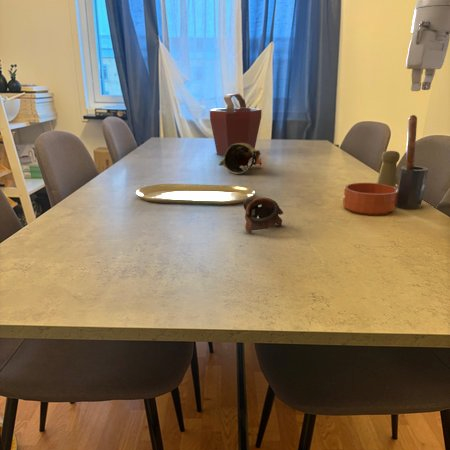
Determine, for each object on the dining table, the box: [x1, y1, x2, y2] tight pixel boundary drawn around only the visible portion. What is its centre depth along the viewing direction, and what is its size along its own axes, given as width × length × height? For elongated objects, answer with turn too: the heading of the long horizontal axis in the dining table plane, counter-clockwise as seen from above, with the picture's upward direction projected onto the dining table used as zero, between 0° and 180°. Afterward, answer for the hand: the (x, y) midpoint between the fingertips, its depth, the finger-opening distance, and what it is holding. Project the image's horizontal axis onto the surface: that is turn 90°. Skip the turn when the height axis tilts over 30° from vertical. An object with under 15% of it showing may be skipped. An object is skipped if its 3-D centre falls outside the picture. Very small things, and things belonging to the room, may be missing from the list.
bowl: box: [342, 182, 399, 216], centre depth 114 cm, size 13×13×6 cm
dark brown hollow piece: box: [242, 196, 284, 234], centre depth 99 cm, size 12×10×8 cm
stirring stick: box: [405, 114, 418, 170], centre depth 112 cm, size 2×2×22 cm
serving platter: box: [135, 183, 256, 206], centre depth 127 cm, size 19×35×2 cm, turn 82°
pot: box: [218, 143, 263, 175], centre depth 159 cm, size 17×11×18 cm
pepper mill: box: [376, 150, 401, 188], centre depth 135 cm, size 6×6×11 cm
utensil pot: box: [396, 165, 429, 210], centre depth 115 cm, size 7×7×10 cm
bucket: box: [209, 92, 262, 157], centre depth 193 cm, size 24×22×25 cm
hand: (420, 90), depth 105 cm, fingers open, 8 cm apart
